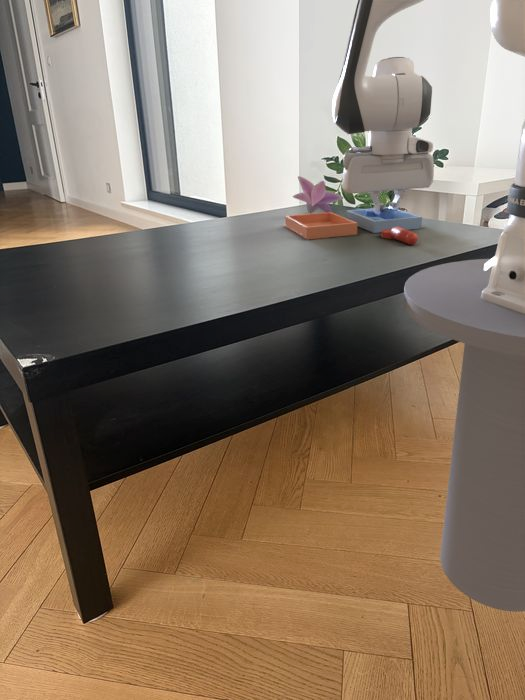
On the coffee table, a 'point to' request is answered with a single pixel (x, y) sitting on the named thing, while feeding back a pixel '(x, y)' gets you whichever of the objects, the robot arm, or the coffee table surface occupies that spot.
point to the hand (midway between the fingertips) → (386, 211)
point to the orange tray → (320, 225)
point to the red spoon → (400, 235)
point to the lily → (316, 196)
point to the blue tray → (379, 224)
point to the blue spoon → (382, 213)
